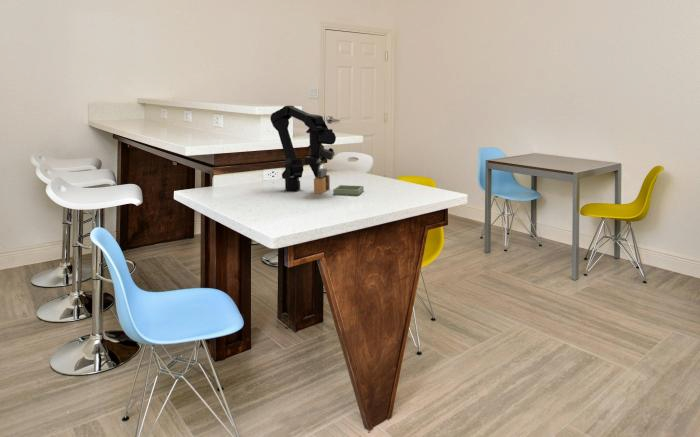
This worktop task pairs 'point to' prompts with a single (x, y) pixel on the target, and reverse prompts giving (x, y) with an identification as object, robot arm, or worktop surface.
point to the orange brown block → (320, 185)
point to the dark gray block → (322, 173)
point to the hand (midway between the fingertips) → (316, 176)
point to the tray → (348, 190)
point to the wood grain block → (327, 182)
